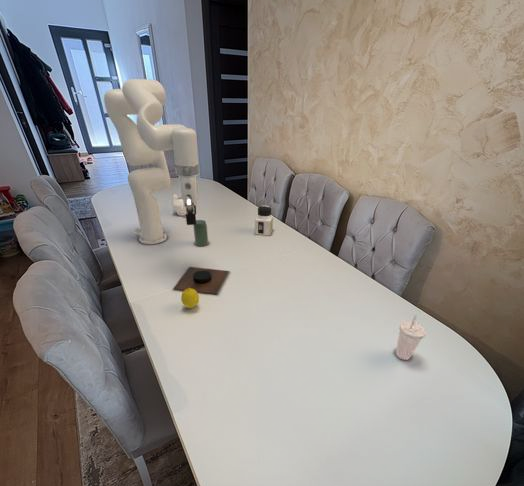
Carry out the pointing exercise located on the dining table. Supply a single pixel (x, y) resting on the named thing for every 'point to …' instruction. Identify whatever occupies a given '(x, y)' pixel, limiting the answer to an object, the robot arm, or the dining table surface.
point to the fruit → (190, 298)
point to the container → (264, 221)
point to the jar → (200, 233)
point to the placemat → (207, 288)
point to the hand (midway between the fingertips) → (191, 219)
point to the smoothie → (409, 338)
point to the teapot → (178, 205)
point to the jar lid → (202, 277)
